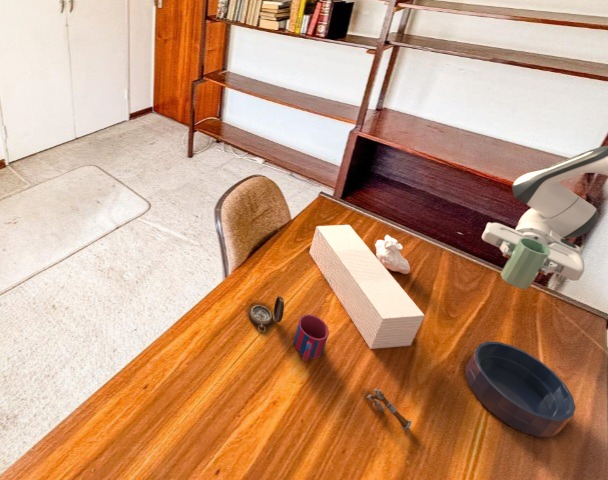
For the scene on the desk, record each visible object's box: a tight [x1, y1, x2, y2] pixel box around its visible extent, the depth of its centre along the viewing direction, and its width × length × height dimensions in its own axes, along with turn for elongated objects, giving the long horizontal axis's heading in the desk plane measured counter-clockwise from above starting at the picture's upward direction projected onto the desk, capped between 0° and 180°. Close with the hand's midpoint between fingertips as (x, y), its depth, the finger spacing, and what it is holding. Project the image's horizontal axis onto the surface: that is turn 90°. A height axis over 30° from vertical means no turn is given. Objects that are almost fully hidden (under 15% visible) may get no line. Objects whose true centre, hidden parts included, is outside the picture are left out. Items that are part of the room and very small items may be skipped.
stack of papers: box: [309, 224, 426, 350], centre depth 108 cm, size 32×11×11 cm, turn 6°
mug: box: [293, 314, 330, 362], centre depth 93 cm, size 7×10×7 cm
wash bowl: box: [464, 341, 576, 438], centre depth 86 cm, size 16×16×6 cm
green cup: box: [500, 238, 550, 290], centre depth 103 cm, size 6×6×12 cm
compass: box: [248, 295, 285, 333], centre depth 100 cm, size 8×8×7 cm
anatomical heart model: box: [374, 234, 411, 275], centre depth 119 cm, size 12×8×11 cm
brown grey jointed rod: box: [365, 388, 413, 431], centre depth 82 cm, size 2×8×4 cm, turn 46°
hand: (525, 263), depth 102 cm, fingers closed on green cup, 6 cm apart
